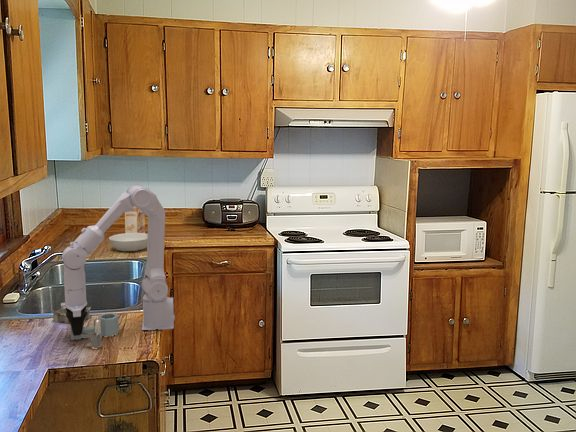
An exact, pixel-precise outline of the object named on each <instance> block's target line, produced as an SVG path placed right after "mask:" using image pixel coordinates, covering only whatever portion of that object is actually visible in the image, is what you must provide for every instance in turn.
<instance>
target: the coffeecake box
mask: <svg viewBox="0 0 576 432" xmlns="http://www.w3.org/2000/svg"><path fill="white" fill-rule="evenodd" d="M133 208H134V211H130V212H125V213H124V230H125V233H146V214H145V213H144V212H143V211H142V210H140V209H138V208H136V207H135V206H134V207H133Z"/></svg>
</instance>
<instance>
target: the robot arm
mask: <svg viewBox="0 0 576 432" xmlns="http://www.w3.org/2000/svg"><path fill="white" fill-rule="evenodd" d="M134 206H135V207H136V208H138V209H140V210H142V211H143V212H144V213H145V216H147V234H148V239H147V247H146V267H145V271H144V276H143V278H142V280H141V289H142V290H143V292H144V295H143V296H142V318H143V320H142V322H141V323H142V324H141V331H142V330H148V331H156V330H155V329H158V330H157V331H159V330H160V331H163V330H173V329H174V327H175V326H174V324H175V323H174V322H175V321H176V320H175V318H176V317H175V313H174V312H175V311H174V297H168V294H169V287H168V285H167V282H166V274H165V273H166V272H165V269H164V262H165V261H164V260H165V258H164V257H165V232H166V231H165V230H166V211H165V209H164V207H163V205H162V203H161V202H160V199H158V197H157V195H156V194H155V193H154V192H153V191H151V190H150V189H149V188H146V187H144V186H143V185H140V184H133V185H131V186H129V187H128V188H127V189H126V191H124V192H123V193H121V195H120V196H119V197H118V198H117V199H116V200H115V201H114V203H113V204H112V205H110V207H109V208H108V210H107V211H106V212H105V213H104V214H103V216H102V217H101V218H100V219H99V220H98V221H97V223H95V224H94V225H88V226H87V227H83V228H82V229H81V230H80V232H81V234H79V236H78V237H76V239H75V240H74V241H71V242H69V245H70V246H68V247H65V249H63V252H62V255H61V260H62V261H63V263H64V264H63V282H64V283H63V285H64V302H61V303H60V307H61V308H63V307H66V311H67V312H66V316H67V318H68V320H69V321H70V323H69V325H70V324H71V327H70V329H71V328H72V332H73V335H74V336H77V335H81V333H82V329H83V324H84V323H85V322H84V319H85V317H86V315H87V311H85V309H86V307H87V305H88V301H87V287H86V285H87V284H86V283H87V282H86V271H85V265H86V262H87V257H89V256H90V255H91V254H92V253H93V252H94V251H95V249H97V247H98V246H99V245H100V244H101V243H102V242H103V241H104V240H105V232H106V231H107V230H109V228H110V227H111V226H112V225H113V224H114V223H115V222H116V221H118V219H119V218H120V217H121V216H122V215H123V214H125V212H130V211H134V208H133V207H134ZM85 320H86V319H85Z"/></svg>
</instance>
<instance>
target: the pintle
mask: <svg viewBox="0 0 576 432" xmlns="http://www.w3.org/2000/svg"><path fill="white" fill-rule="evenodd" d="M93 326H94V333H98V334H100V340H101V341H102V336H101V320H100V319H98V318H97V319H93Z"/></svg>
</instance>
